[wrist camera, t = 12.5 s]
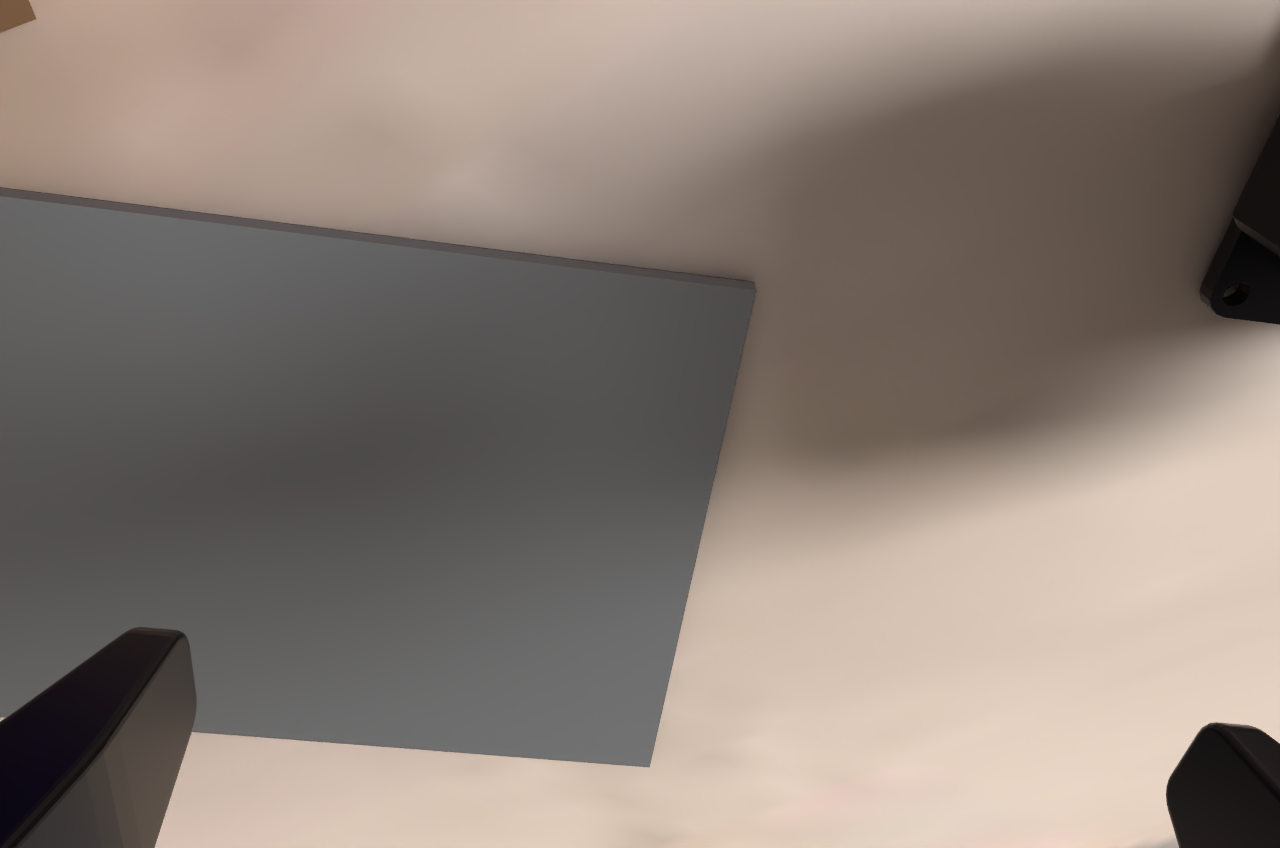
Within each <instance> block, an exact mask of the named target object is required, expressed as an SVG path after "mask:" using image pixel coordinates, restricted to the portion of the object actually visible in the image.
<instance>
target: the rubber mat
mask: <svg viewBox="0 0 1280 848" xmlns="http://www.w3.org/2000/svg"><path fill="white" fill-rule="evenodd" d="M755 293H756V288H755V285H754V282H749V281H741V280H733V279H725V278H717V277H709V276H701V275H693V274H685V273H677V272H669V271H661V270H653V269H645V268H637V267H629V266H621V265H613V264H605V263H598V262H590V261H582V260H574V259H566V258H558V257H550V256H542V255H534V254H526V253H518V252H510V251H502V250H494V249H486V248H478V247H470V246H462V245H454V244H446V243H438V242H430V241H422V240H414V239H406V238H398V237H390V236H382V235H374V234H366V233H358V232H350V231H343V230H335V229H327V228H319V227H311V226H303V225H295V224H287V223H279V222H271V221H263V220H255V219H247V218H239V217H231V216H223V215H215V214H207V213H199V212H191V211H183V210H175V209H167V208H159V207H151V206H143V205H135V204H127V203H119V202H111V201H103V200H96V199H88V198H80V197H72V196H64V195H56V194H48V193H40V192H32V191H24V190H16V189H8V188H0V717H8V716H9V715H11V714H12V713H14V712H15V711H16V710H18V709H19V708H20V707H22V706H23V705H25V704H26V703H27V702H29V701H30V700H32V699H33V698H34V697H36V696H37V695H38V694H40V693H41V692H43V691H44V690H45V689H47V688H48V687H50V686H51V685H52V684H54V683H55V682H56V681H58V680H59V679H61V678H62V677H63V676H65V675H66V674H68V673H69V672H70V671H72V670H73V669H74V668H76V667H77V666H79V665H80V664H81V663H83V662H84V661H86V660H87V659H88V658H90V657H91V656H92V655H94V654H95V653H97V652H98V651H99V650H101V649H102V648H104V647H105V646H106V645H108V644H109V643H110V642H112V641H113V640H115V639H116V638H117V637H119V636H120V635H122V634H123V633H125V632H126V631H128V630H130V629H133V628H136V627H148V628H159V629H171V630H178V631H181V632H183V633H184V634H185V635H186V636H187V638H188V641H189V645H190V651H191V659H192V666H193V674H194V681H195V689H196V696H197V709H196V717H195V721H194V726H193V729H192V732H201V733H214V734H226V735H239V736H252V737H265V738H278V739H291V740H304V741H317V742H330V743H342V744H355V745H368V746H381V747H394V748H407V749H420V750H433V751H445V752H458V753H471V754H484V755H497V756H510V757H523V758H536V759H549V760H561V761H574V762H587V763H600V764H613V765H626V766H639V767H650V763H651V758H652V754H653V750H654V745H655V741H656V736H657V732H658V727H659V723H660V718H661V714H662V709H663V705H664V700H665V696H666V691H667V687H668V682H669V678H670V673H671V669H672V665H673V660H674V656H675V651H676V647H677V642H678V638H679V633H680V629H681V624H682V620H683V615H684V611H685V606H686V602H687V597H688V593H689V589H690V584H691V580H692V575H693V571H694V566H695V562H696V557H697V553H698V548H699V544H700V539H701V535H702V530H703V526H704V521H705V517H706V512H707V508H708V504H709V499H710V495H711V490H712V486H713V481H714V477H715V472H716V468H717V463H718V459H719V454H720V450H721V445H722V441H723V436H724V432H725V427H726V423H727V419H728V414H729V410H730V405H731V401H732V396H733V392H734V387H735V383H736V378H737V374H738V369H739V365H740V360H741V356H742V351H743V347H744V343H745V338H746V334H747V329H748V325H749V320H750V316H751V311H752V307H753V302H754V298H755Z"/></svg>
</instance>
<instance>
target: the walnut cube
mask: <svg viewBox="0 0 1280 848" xmlns="http://www.w3.org/2000/svg"><path fill="white" fill-rule="evenodd" d="M35 19H36V17H35V15H34V12H33V10H32V7H31V5H30V2H29V0H0V32H2V31H5V30H8V29H10V28H13V27H16V26H19V25H21V24H24V23H27V22H29V21H32V20H35Z"/></svg>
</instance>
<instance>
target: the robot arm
mask: <svg viewBox="0 0 1280 848" xmlns="http://www.w3.org/2000/svg"><path fill="white" fill-rule="evenodd" d="M1233 216H1234V217H1233V219H1232V221H1231V223H1230V225H1229V227H1228V230H1227V232H1226V234H1225V236H1224V238H1223V240H1222V242H1221V244H1220V246H1219V248H1218V250H1217V252H1216V255H1215V257H1214V259H1213V261H1212V263H1211V265H1210V267H1209V269H1208V271H1207V273H1206V275H1205V278H1204V280H1203V282H1202V285H1201V288H1200V297H1201V300H1202V301H1203V303H1204V304H1205V305H1206V306H1207V307H1208V308H1210V309H1211V310H1212V311H1213V312H1214V313H1216V314H1217V315H1220V316H1222V317H1226V318H1234V319H1242V320H1249V321H1257V322H1265V323H1273V324H1280V115H1279V117H1278V119H1277V121H1276V124H1275V126H1274V128H1273V130H1272V132H1271V134H1270V136H1269V138H1268V140H1267V142H1266V144H1265V147H1264V149H1263V151H1262V153H1261V155H1260V157H1259V159H1258V161H1257V163H1256V165H1255V167H1254V170H1253V172H1252V174H1251V176H1250V178H1249V180H1248V182H1247V184H1246V186H1245V188H1244V190H1243V193H1242V195H1241V197H1240V199H1239V201H1238V203H1237V205H1236V207H1235V209H1234V212H1233ZM1238 282H1239V285H1238V288H1237V289H1236V290H1235V292H1234V293H1233V294H1231V295H1229V296H1227V297H1223V295H1224V292H1225V291H1226V289H1227V288H1228V287H1229V286H1231V285H1233V284H1234V283H1238ZM196 709H197V696H196V689H195V681H194V674H193V666H192V659H191V651H190V645H189V641H188V638H187V636H186V635H185V634H184V633H183V632H181V631H178V630H171V629H159V628H148V627H136V628H133V629H130V630H128V631H126V632H125V633H123V634H122V635H120V636H119V637H117V638H116V639H115V640H113V641H112V642H110V643H109V644H108V645H106V646H105V647H104V648H102V649H101V650H99V651H98V652H97V653H95V654H94V655H92V656H91V657H90V658H88V659H87V660H86V661H84V662H83V663H81V664H80V665H79V666H77V667H76V668H74V669H73V670H72V671H70V672H69V673H68V674H66V675H65V676H63V677H62V678H61V679H59V680H58V681H56V682H55V683H54V684H52V685H51V686H50V687H48V688H47V689H45V690H44V691H43V692H41V693H40V694H38V695H37V696H36V697H34V698H33V699H32V700H30V701H29V702H27V703H26V704H25V705H23V706H22V707H20V708H19V709H18V710H16V711H15V712H14V713H12V714H11V715H9V716H8V717H7V718H5V719H4V720H2V721H1V722H0V848H155V844H156V841H157V838H158V835H159V832H160V829H161V826H162V823H163V819H164V816H165V813H166V810H167V807H168V804H169V801H170V798H171V795H172V791H173V788H174V785H175V782H176V779H177V776H178V773H179V770H180V767H181V763H182V760H183V757H184V754H185V751H186V748H187V745H188V742H189V739H190V735H191V732H192V729H193V726H194V721H195V717H196ZM1166 799H1167V806H1168V811H1169V814H1170V818H1171V821H1172V824H1173V828H1174V831H1175V835H1176V838H1177V842H1178V845H1179V848H1280V744H1279V743H1278V742H1277V741H1275V740H1274V739H1273V738H1271V737H1270V736H1269V735H1267V734H1266V733H1265V732H1263V731H1262V730H1260V729H1258V728H1256V727H1252V726H1249V725H1239V724H1228V723H1217V722H1216V723H1210V724H1208V725H1206V726H1204V727H1203V728H1202V729H1201V730H1200V731H1199V732H1198V734H1197V735H1196V737H1195V738H1194V740H1193V742H1192V743H1191V745H1190V746H1189V748H1188V749H1187V751H1186V752H1185V754H1184V756H1183V757H1182V759H1181V760H1180V762H1179V763H1178V765H1177V766H1176V768H1175V770H1174V771H1173V773H1172V774H1171V776H1170V778H1169V780H1168V784H1167V790H1166Z"/></svg>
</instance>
